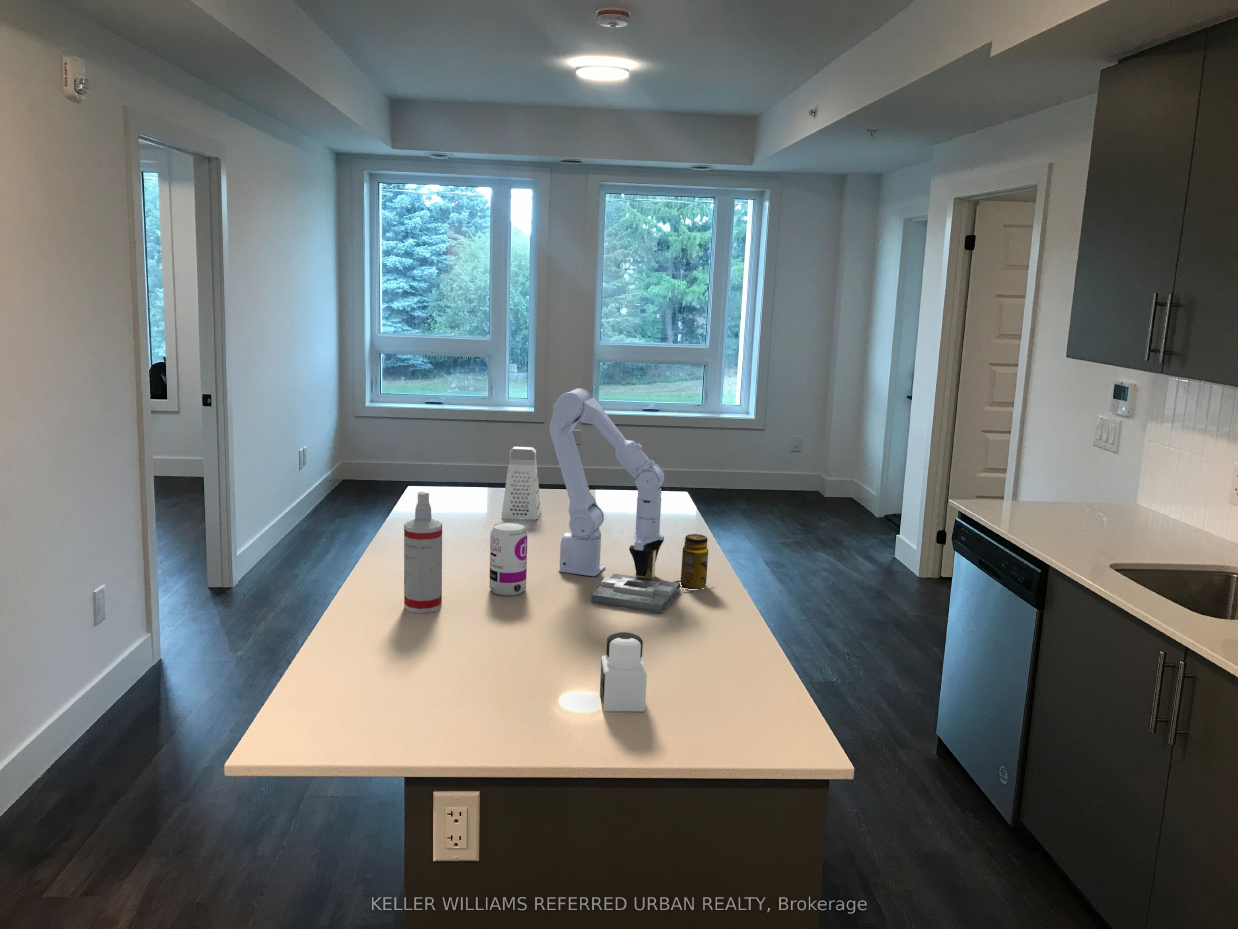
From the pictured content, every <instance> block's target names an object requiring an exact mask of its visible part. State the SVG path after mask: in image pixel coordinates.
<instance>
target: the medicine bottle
mask: <svg viewBox="0 0 1238 929" xmlns="http://www.w3.org/2000/svg"><path fill="white" fill-rule="evenodd" d="M643 644H644V641H643V639H642V638H641V637H640V636H639V635H638V634H635V633H632V632H627V631H619V632H615V633H612V634H610V635H609V636H608V637H607V638H606V649H605V650H606V653H605V654H606V655H602V656H601V659H600V680H599V682H600V683H599V684H600V685H599V696H600V701H601V702H600V703H601V710H602V712H605V713H606V712H611V713H613V712H617V713H618V712H619V713H621V712H622V713H623V712H626V713H627V712H628V713H629V712H632V713H635V712H636V713H637V712H638V713H641V712H642V713H643V712H645V710H646V695H647V676H648V674H647V669H646V664H645V662H644V658H643V647H644V646H643Z"/></svg>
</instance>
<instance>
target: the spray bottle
mask: <svg viewBox="0 0 1238 929" xmlns="http://www.w3.org/2000/svg"><path fill="white" fill-rule="evenodd" d="M403 577H404V578H403V581H404V582H403V598H404V599H403V603H404V607H403V608H404V609H405V608H406V609H407V610H406V609H405V610H406V611H407V612H409V613H410V612H411V613H415V612H418V613H417V614H426V613H425V612H430V613H433V612H436V611H438V610H440V609H441V607H442V606H443V604H442V603H443V601H442V600H443V598H442V597H443V587H442V586H443V523H442V522H440V521H439V520H435V519H433V518H432V507H431V504H430V493H429V492H424V491H418V492H417V503H416V505H415V514H414V519H412V520H409V521H406V522H405V523H404V524H403Z"/></svg>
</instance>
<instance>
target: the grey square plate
mask: <svg viewBox="0 0 1238 929" xmlns="http://www.w3.org/2000/svg"><path fill="white" fill-rule="evenodd" d="M622 577H625V578H632V579H639V580H646V581H653V582H660V585H661V586H667V587H673V592H672V593H671V594H670V596H668V595H661V594H655V593H654V594H653V595H652V596H647V595H640V594H633V593H627V592H620V591H613V587H607V586H601V585H600V586H599V587H597V588H596V589H595V591H593V593H591V596H590V598H591V600H590V603H591V604H596V605H602V606H608V607H612V608H613V607H614V608H621V609H627V610H635V611H641V612H646V613H647V612H648V613H653V614H654V613H655V614H660V615H662V614H663V613H664V612H665V610H666V609H667V608H668V606H669V605H670V604H671V603H672V601H673V600H674V599H675V597H677V595H678V594H679V592H680V591H681V590H680V583H677V582H674V581H669V580H662V579H655V578H654V579H649V578H641V577H636V576H633V575H626V574H620V573H613V574H612V575H611V576H609V578H612V579H619V580H620V579H621V578H622ZM627 586H632V587H639V588H647V587H642V586H635V585H627ZM677 593H678V594H677Z"/></svg>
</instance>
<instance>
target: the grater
mask: <svg viewBox="0 0 1238 929" xmlns="http://www.w3.org/2000/svg"><path fill="white" fill-rule="evenodd" d="M513 450H529V451H530V450H531V451H532V452H533V453H534V459H533V460H532V459H531V460H529V459H512V451H513ZM508 456H509V457H508V458H509V459H508V461H509V462H508V465H507V472H506V473H507V474H506V482H505V487H504V496H503V502H502V510H501V519H507V518H523V519H522V520H529V519H538V520H539V517H540V515H541V512H540V511H542V509H541V508H542V507H541V497H540V485H539V477H538V476H539V475H538V474H539V473H538V465H537V464H538V462H537V450H536V448H534V447H532V446H513V447H512V448H511V450H510V451H509V455H508ZM511 509H513V510H511ZM514 509H517V510H514ZM518 509H521V510H518ZM522 509H523V510H522ZM513 513H514V514H513ZM517 513H518V514H517ZM521 514H522V515H521ZM525 514H526V515H525ZM538 516H539V517H538Z"/></svg>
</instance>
